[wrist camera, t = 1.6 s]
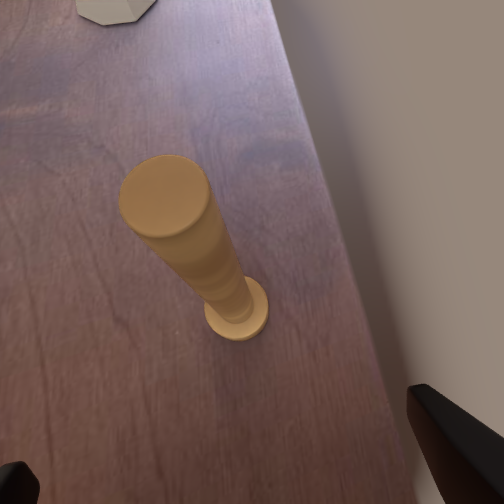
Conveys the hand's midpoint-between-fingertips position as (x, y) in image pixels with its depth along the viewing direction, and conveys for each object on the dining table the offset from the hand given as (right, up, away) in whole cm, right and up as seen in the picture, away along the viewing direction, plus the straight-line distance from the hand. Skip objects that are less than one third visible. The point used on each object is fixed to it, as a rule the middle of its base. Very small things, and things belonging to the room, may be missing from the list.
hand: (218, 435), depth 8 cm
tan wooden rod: (0, +1, +13) cm, 13 cm away
